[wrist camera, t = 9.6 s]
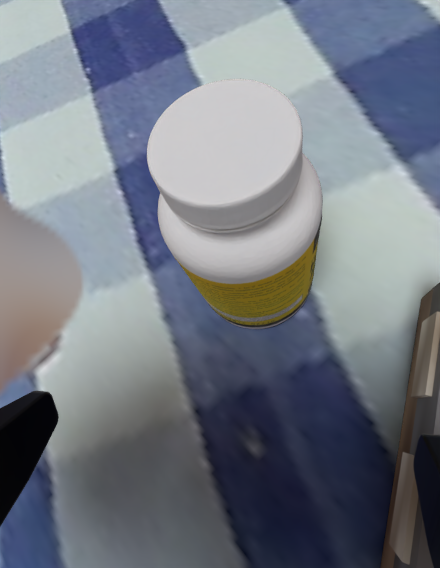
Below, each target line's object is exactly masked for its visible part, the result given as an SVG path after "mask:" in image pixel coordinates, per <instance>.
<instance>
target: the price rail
mask: <svg viewBox="0 0 440 568" xmlns="http://www.w3.org/2000/svg"><path fill="white" fill-rule="evenodd" d="M421 434H433V435H440V283H438V284H437V285H436V286H435V287H434V288H433V289H432V290H431V291H430V292H429V293H427V294H426V295H425V296H424V297H423V298H422V299H421V305H420V312H419V318H418V325H417V331H416V338H415V344H414V351H413V357H412V364H411V370H410V377H409V384H408V390H407V397H406V403H405V410H404V416H403V423H402V429H401V436H400V442H399V449H398V455H397V462H396V468H395V475H394V482H393V488H392V495H391V501H390V508H389V514H388V521H387V527H386V534H385V540H384V547H383V553H382V560H381V567H380V568H434V567H433V563H432V560H431V556H430V552H429V548H428V543H427V538H426V533H425V528H424V522H423V517H422V512H421V507H420V501H419V496H418V491H417V485H416V480H415V475H414V468H413V461H414V456H415V452H416V447H417V443H418V439H419V436H420V435H421Z"/></svg>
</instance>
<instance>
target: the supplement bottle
mask: <svg viewBox="0 0 440 568" xmlns="http://www.w3.org/2000/svg"><path fill="white" fill-rule="evenodd" d="M302 139H303V133H302V125H301V120H300V117H299V115H298V112H297V110H296V109H295V107H294V105H293V104H292V103H291V101H290V100H289V99H288V98H287V97H286V96H285V95H284V94H282V93H281V92H280V91H278V90H277V89H275V88H273V87H271V86H269V85H267V84H264V83H261V82H258V81H254V80H246V79H228V80H221V81H216V82H212V83H208V84H205V85H203V86H200V87H198V88H195V89H194V90H192V91H190V92H188V93H186V94H185V95H183V96H182V97H180V98H179V99H177V100H176V101H175V102H174V103H172V104H171V105H170V106H169V107H168V108H167V109H166V110H165V111H164V113H163V114H162V115H161V116H160V118H159V119H158V121H157V122H156V124H155V126H154V128H153V130H152V132H151V134H150V137H149V141H148V147H147V160H148V166H149V170H150V174H151V176H152V178H153V180H154V182H155V183H156V185H157V187H158V189H159V191H160V197H159V202H158V221H159V226H160V230H161V233H162V236H163V238H164V240H165V242H166V244H167V246H168V248H169V249H170V251H171V252H172V254H173V256H174V257H175V259H176V260H177V261H178V263H179V264H180V265H181V267H182V268H183V269H184V271H185V272H186V274H187V275H188V276H189V278H190V279H191V281H192V282H193V283H194V285H195V286H196V287H197V289H198V290H199V291H200V293H201V294H202V296H203V297H204V298H205V300H206V301H207V302H208V304H209V305H210V306H211V308H212V309H213V310H214V311H215V312H216V313H217V314H218V315H219V316H220V317H222V318H223V319H224V320H226V321H227V322H229V323H231V324H233V325H236V326H239V327H242V328H248V329H264V328H269V327H272V326H275V325H278V324H280V323H282V322H284V321H286V320H287V319H289V318H290V317H292V316H293V315H294V314H295V313H296V312H297V311H298V310H299V309H300V308H301V307H302V305H303V304H304V303H305V301H306V299H307V297H308V295H309V292H310V289H311V286H312V281H313V276H314V268H315V260H316V252H317V245H318V238H319V231H320V226H321V220H322V203H323V199H322V190H321V185H320V181H319V178H318V175H317V173H316V171H315V169H314V167H313V165H312V164H311V162H310V161H309V159H308V158H307V157H306V156H305V155H304V154H303V153H302Z"/></svg>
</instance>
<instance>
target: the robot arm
mask: <svg viewBox="0 0 440 568" xmlns="http://www.w3.org/2000/svg"><path fill="white" fill-rule="evenodd" d="M57 422H58V412H57V409H56V406H55V403H54V400H53V397H52V395H51V394H50V393H49V392H44V391H33V392H31V393H29V394H27V395H25V396H23V397H21V398H19V399H17V400H16V401H14V402H12V403H10V404H8V405H6V406H4V407H2V408H0V526H1V525H2V523H3V521H4V520H5V518H6V516H7V515H8V513H9V512H10V510H11V508H12V507H13V505H14V503H15V502H16V500H17V499H18V497H19V495H20V494H21V492H22V490H23V489H24V487H25V485H26V484H27V482H28V480H29V478H30V476H31V475H32V473H33V471H34V469H35V467H36V465H37V463H38V461H39V459H40V457H41V455H42V453H43V451H44V449H45V447H46V445H47V443H48V441H49V439H50V437H51V435H52V433H53V431H54V429H55V427H56V425H57ZM413 468H414V475H415V480H416V485H417V491H418V496H419V501H420V507H421V512H422V517H423V522H424V528H425V533H426V538H427V543H428V548H429V552H430V556H431V560H432V563H433V567H434V568H440V435H433V434H421V435H420V436H419V439H418V443H417V447H416V452H415V456H414V461H413Z"/></svg>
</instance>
